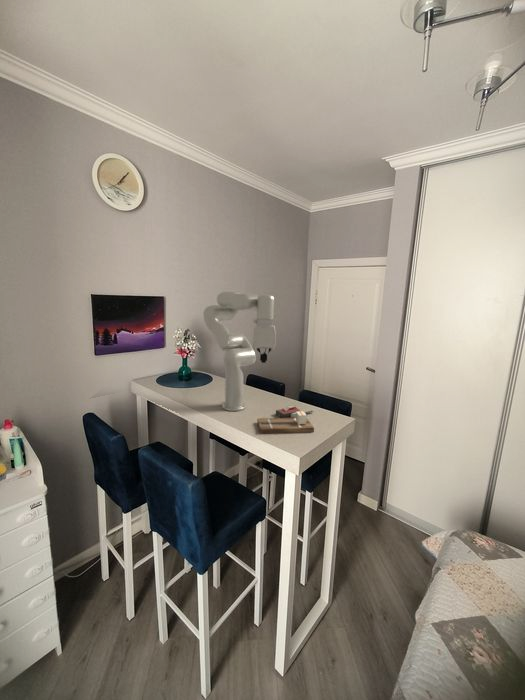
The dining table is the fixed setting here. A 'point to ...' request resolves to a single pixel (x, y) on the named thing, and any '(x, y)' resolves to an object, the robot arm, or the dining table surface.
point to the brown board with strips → (283, 425)
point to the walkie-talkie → (288, 412)
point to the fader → (301, 417)
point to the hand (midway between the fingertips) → (263, 362)
